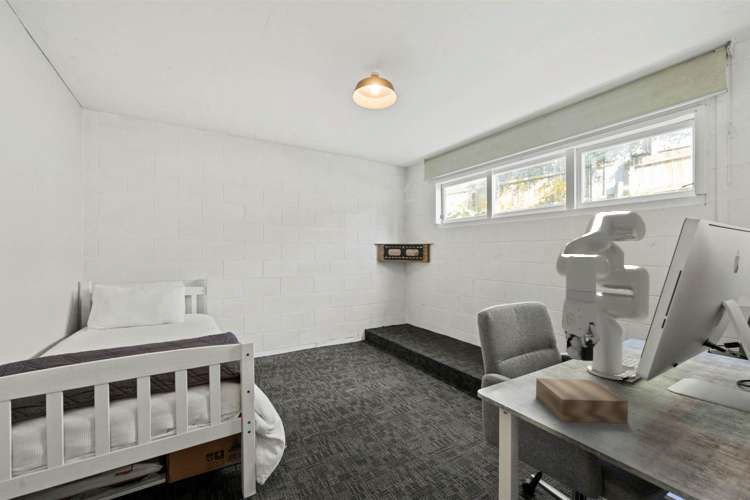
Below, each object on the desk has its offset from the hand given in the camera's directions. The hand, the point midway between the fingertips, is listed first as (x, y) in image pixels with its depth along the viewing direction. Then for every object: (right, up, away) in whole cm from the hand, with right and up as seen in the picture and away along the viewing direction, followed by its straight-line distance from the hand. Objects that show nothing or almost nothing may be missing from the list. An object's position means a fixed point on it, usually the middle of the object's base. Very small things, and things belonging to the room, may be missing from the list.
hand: (579, 356), depth 92 cm
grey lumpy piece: (0, -1, 0) cm, 1 cm away
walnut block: (0, -16, 0) cm, 16 cm away
